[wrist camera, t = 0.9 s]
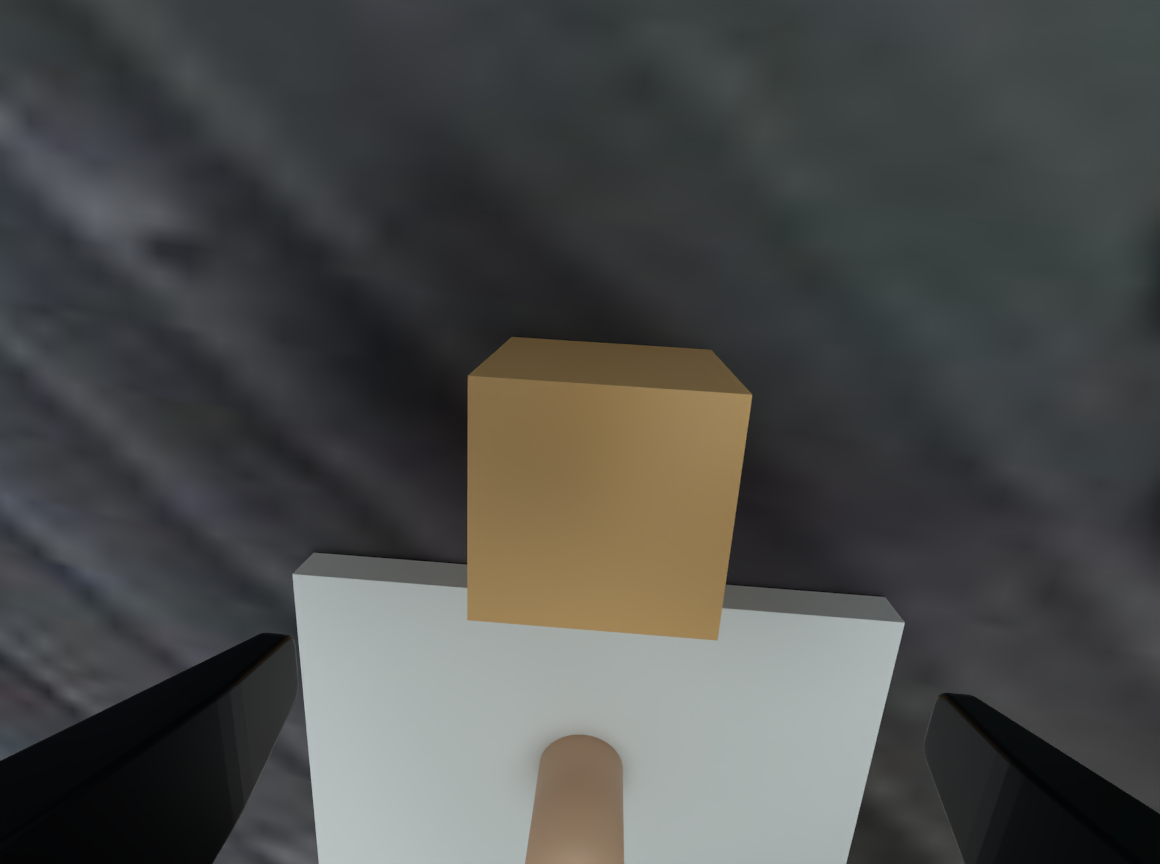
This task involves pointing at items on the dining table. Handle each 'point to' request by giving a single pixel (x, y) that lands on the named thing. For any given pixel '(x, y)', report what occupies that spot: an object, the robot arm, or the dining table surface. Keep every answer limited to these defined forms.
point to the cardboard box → (603, 486)
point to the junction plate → (583, 726)
